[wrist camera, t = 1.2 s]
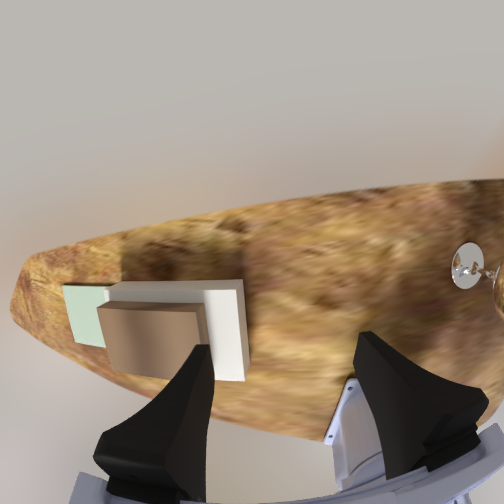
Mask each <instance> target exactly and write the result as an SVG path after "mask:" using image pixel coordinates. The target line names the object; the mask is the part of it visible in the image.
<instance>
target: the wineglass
mask: <svg viewBox="0 0 504 504" xmlns="http://www.w3.org/2000/svg"><path fill="white" fill-rule="evenodd" d="M483 267H484V257H483V253H482V251H481V249H480V247H479V246H478V245H476V244H475V243H472V242H468V243H465V244H463V245H462V246H461V247H459V249H458V250H457V251H456V253H455V255H454V257H453V260H452V265H451V275H452V279H453V281H454V283H455V285H456V286H457V287H459V288H461V289H468V288H471V287H472V286H474V285H475V284H476V283H477V282H478V280H479V279H480V277H481V275H482V274H483V275H485V276H487V277H488V278H489V279H490V280H491V281H492V282H493V289H492V297H493V303H494V307H495V310H496V312H497V314H498V316H499V317H500V319H501V320H502V321H503V322H504V259H503V261H502V262H501V264H500V265H499V267H498V269H497V271H487V270H484V269H483Z"/></svg>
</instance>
